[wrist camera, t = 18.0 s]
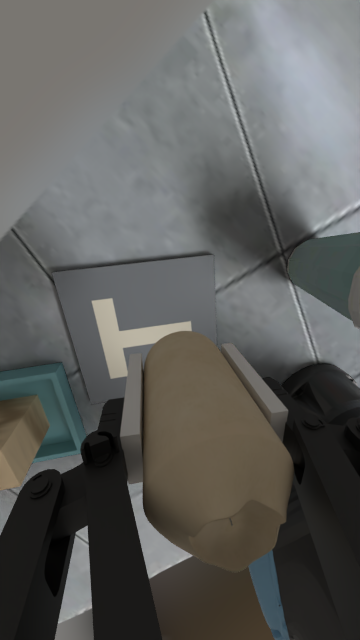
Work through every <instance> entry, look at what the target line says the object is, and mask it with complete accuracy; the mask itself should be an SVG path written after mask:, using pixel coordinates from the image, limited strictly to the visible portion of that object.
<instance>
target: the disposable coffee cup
mask: <svg viewBox="0 0 360 640" xmlns="http://www.w3.org/2000/svg"><path fill="white" fill-rule="evenodd" d="M287 272H288V275H289V277H290V279H291V280H292V282H293V283H294V284H295V285H297V286H298V287H300V288H301V289H303V290H305V291H306V292H308V293H309V294H311V295H312V296H314V297H316V298H317V299H319V300H320V301H322V302H323V303H325V304H326V305H328V306H330V307H331V308H333V309H334V310H336V311H337V312H339V313H341V314H342V315H344V316H345V317H347V318H348V319H350V320H352V321H353V324H354V327H356V328H358V329H360V232H358V233H351V234H344V235H337V236H330V237H323V238H316V239H309V240H307V241H306V242H303V243H302V244H301V245H299V246H298V247H296V248H295V249H294V251H293V252H292V254H291V256H290V257H289V259H288V266H287Z"/></svg>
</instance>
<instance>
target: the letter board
mask: <svg viewBox="0 0 360 640" xmlns="http://www.w3.org/2000/svg"><path fill="white" fill-rule="evenodd" d="M52 276H53V279H54V282H55V286H56V289H57V292H58V296H59V299H60V302H61V306H62V309H63V312H64V315H65V319H66V322H67V325H68V329H69V332H70V335H71V339H72V342H73V345H74V349H75V352H76V355H77V359H78V362H79V365H80V369H81V372H82V375H83V379H84V382H85V385H86V389H87V392H88V395H89V399H90V402H91V405H92V404H97V403H103V402H107V401H108V400H109V399H116V398H123V397H125V390H126V382H127V374H128V366H129V358H130V354H137V353H142V362H143V370H144V364H145V360H146V357H147V355H148V353H149V351H150V349H151V348H152V346H153V345H154V344H155V343H156V342H157V341H159V340H160V339H161V338H163V337H164V336H166V335H169V334H171V333H174V332H179V331H193V332H197V333H200V334H202V335H204V336H206V337H207V338H209V339H210V340H211V341H212V342H213V343H214V344H215V345H216V346H217V330H216V298H215V266H214V255H213V254H210V255H201V256H192V257H183V258H174V259H164V260H155V261H146V262H137V263H128V264H119V265H110V266H101V267H91V268H82V269H73V270H64V271H55V272H52Z"/></svg>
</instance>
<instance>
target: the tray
mask: <svg viewBox="0 0 360 640" xmlns="http://www.w3.org/2000/svg"><path fill="white" fill-rule="evenodd" d="M32 395H38V397H39V400H40V402H41V404H42V407H43V409H44V412H45V414H46V417H47V419H48V422H49V424H50V427H49V429H48V431H47V433H46V435H45V437H44V439H43V441H42V443H41V445H40V447H39V449H38V451H37V453H36V456H35V458H34V460H33V462H32V463H35V462H40V461H45V460H50V459H55V458H60V457H65V456H70V455H75V454H80V453H81V452H80V448H81V444H82V442H83V441H84V439H85V438H86V437H87V436H86V433H85V430H84V427H83V424H82V421H81V418H80V415H79V412H78V409H77V406H76V403H75V400H74V397H73V394H72V391H71V388H70V385H69V382H68V379H67V376H66V373H65V370H64V367H63V364H62V362H60V363H54V364H48V365H41V366H35V367H28V368H22V369H15V370H9V371H2V372H0V401H2V400H8V399H14V398H20V397H26V396H32Z"/></svg>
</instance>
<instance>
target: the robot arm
mask: <svg viewBox="0 0 360 640" xmlns="http://www.w3.org/2000/svg"><path fill="white" fill-rule="evenodd" d="M221 353H222V355H223V356H224V357H225V359H226V360H227V362H228V363H229V365H230V366H231V368H232V369H233V371H234V372H235V374H236V375H237V377H238V378H239V380H240V381H241V383H242V384H243V385H244V387H245V388H246V390H247V391H248V393H249V394H250V396H251V397H252V399H253V400H254V402H255V403H256V405H257V406H258V408H259V409H260V411H261V412H262V413H263V415H264V416H265V418H266V419H267V421H268V422H269V424H270V425H271V427H272V428H273V430H274V431H275V433H276V434H277V436H278V437H279V439H280V440H281V442H282V443H283V444H284V446H285V447H286V449H287V450H288V452H289V454H290V456H291V458H292V461H293V465H294V477H293V484H292V489H291V494H290V498H289V501H288V506H287V516H286V522H285V523H283V524H280V528H279V532H278V537H277V542H276V545H275V547H274V548H273V549H272V550H271V551H270V552H268V553H267V554H265V555H264V556H262V557H260V558H259V559H257V560H255V561H254V562H252V563H251V564H250V565H249V570H250V573H251V577H252V580H253V584H254V587H255V590H256V594H257V597H258V600H259V603H260V606H261V609H262V611H263V614H264V617H265V619H266V622H267V623H268V626H269V627H270V628H271V631H272V634H273V637H274V639H275V640H360V388H359V387H358V385H357V383H356V382H355V381H354V379H353V378H352V377H351V376H350V375H348V374H347V373H346V372H344V371H343V370H341V369H340V368H338V367H336V366H334V365H330V364H317V365H312V366H309V367H306V368H304V369H302V370H300V371H298V372H297V373H295V374H294V375H292V376H291V377H290V378H289V379H288V380H287V381H286V382H285V383H284V384H283V385H282V386H281V385H280V384H279V383H278V382H277V381H275V380H274V379H272V378H270V377H267V378H261V377H260V376H259V375H258V373H257V372H256V371H255V370H254V369H253V367H252V366H251V365H250V364H249V363H248V361H247V360H246V359H245V358H244V357H243V355H242V354H241V353H240V352H239V351H238V349H237V348H236V347H235V346H234V345H233V343H227V344H222V348H221ZM143 390H144V370H143V362H142V353H137V354H130V358H129V366H128V374H127V382H126V390H125V397H123V398H116V399H109V400H108V401H107V403H106V404H105V405H104V407H103V410H102V414H101V418H100V423H99V427H98V430H96V431H94V432H92V433H91V434H89V435H88V436H87V437H86V438H85V439H84V441H83V442H82V444H81V448H80V452H81V455H82V459H83V463H82V464H80V465H79V466H77V467H75V468H73V469H71V470H69V471H67V472H65V473H63V474H60V472H59V471H57V470H55V469H47V470H45V471H42V472H39V473H38V474H36V475H35V476H33V477H32V478H31V479H30V480H29V481H28V482H27V483H26V484H25V485H24V486H23V488H22V490H21V491H20V493H19V495H18V497H17V500H16V502H15V504H14V506H13V508H12V511H11V513H10V515H9V517H8V520H7V522H6V524H5V526H4V528H3V531H2V533H1V535H0V640H54V639H55V634H56V629H57V624H58V619H59V614H60V609H61V604H62V599H63V594H64V589H65V584H66V579H67V574H68V569H69V564H70V559H71V554H72V549H73V544H74V539H75V534H76V532H77V531H78V530H80V529H82V528H84V527H85V526H87V525H88V539H89V557H90V575H91V593H92V609H93V629H94V640H162V636H161V632H160V627H159V623H158V619H157V614H156V610H155V605H154V601H153V596H152V592H151V588H150V583H149V579H148V574H147V570H146V565H145V561H144V557H143V552H142V548H141V543H140V539H139V535H138V530H137V526H136V521H135V517H134V512H133V508H132V504H131V499H130V495H129V490H128V486H127V480H128V483H129V484H134V483H139V482H143Z"/></svg>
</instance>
